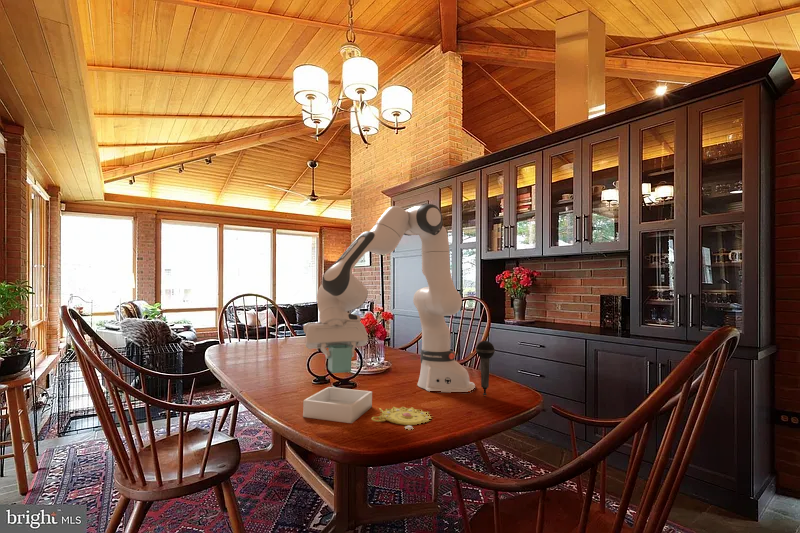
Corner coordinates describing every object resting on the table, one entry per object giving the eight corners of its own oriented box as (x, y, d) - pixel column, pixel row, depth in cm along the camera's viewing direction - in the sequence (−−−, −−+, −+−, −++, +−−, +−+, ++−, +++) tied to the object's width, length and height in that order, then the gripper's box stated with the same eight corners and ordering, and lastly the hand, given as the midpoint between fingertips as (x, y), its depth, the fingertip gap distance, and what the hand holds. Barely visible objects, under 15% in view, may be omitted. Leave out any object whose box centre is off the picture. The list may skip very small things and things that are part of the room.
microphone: (494, 399, 142) (495, 342, 143) (475, 398, 143) (475, 341, 144) (494, 394, 149) (494, 339, 149) (475, 393, 150) (475, 339, 151)
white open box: (371, 406, 132) (372, 391, 133) (351, 423, 117) (352, 406, 117) (327, 401, 137) (328, 386, 137) (303, 416, 122) (303, 400, 122)
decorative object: (447, 418, 119) (387, 426, 109) (447, 427, 119) (387, 435, 109) (411, 399, 137) (357, 404, 127) (411, 406, 137) (357, 412, 127)
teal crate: (346, 367, 132) (346, 344, 132) (351, 371, 126) (351, 347, 126) (327, 369, 129) (328, 345, 129) (332, 373, 124) (332, 348, 124)
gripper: (303, 316, 131) (308, 352, 121) (364, 315, 138) (373, 349, 129) (301, 329, 135) (305, 364, 125) (360, 327, 142) (368, 360, 133)
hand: (340, 356), depth 127 cm, fingers closed on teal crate, 6 cm apart
